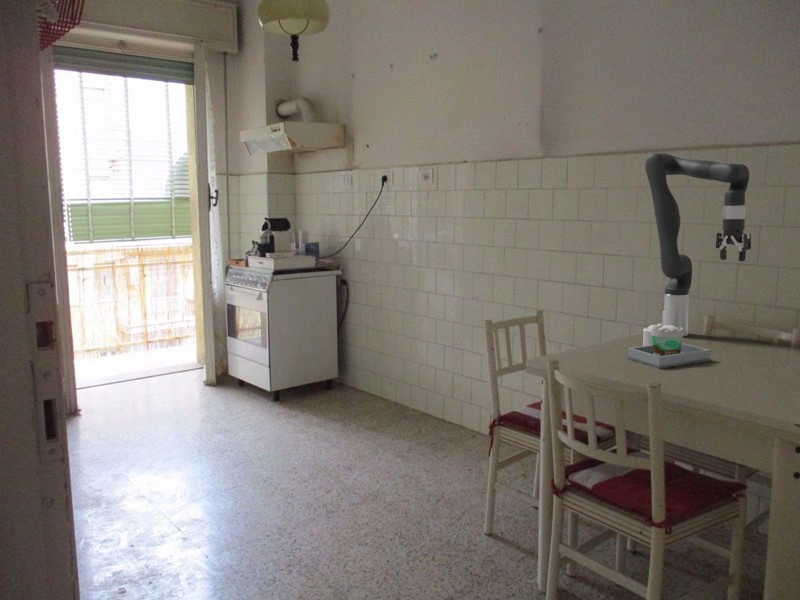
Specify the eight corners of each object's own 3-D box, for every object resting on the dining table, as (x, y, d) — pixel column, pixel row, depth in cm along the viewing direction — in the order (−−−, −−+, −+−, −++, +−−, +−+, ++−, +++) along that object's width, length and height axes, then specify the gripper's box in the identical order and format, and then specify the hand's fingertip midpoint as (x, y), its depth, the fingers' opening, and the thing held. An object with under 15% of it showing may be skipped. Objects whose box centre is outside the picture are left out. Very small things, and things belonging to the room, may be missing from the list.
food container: (660, 361, 232) (660, 332, 230) (649, 357, 238) (650, 329, 236) (691, 358, 234) (692, 330, 233) (680, 354, 240) (681, 326, 239)
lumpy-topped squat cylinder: (681, 350, 250) (682, 328, 249) (644, 350, 253) (645, 327, 252) (676, 344, 260) (676, 322, 259) (641, 344, 263) (641, 322, 262)
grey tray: (627, 359, 240) (627, 348, 240) (676, 352, 248) (676, 341, 247) (659, 368, 226) (659, 357, 225) (709, 361, 233) (710, 349, 233)
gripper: (711, 218, 258) (710, 259, 260) (741, 218, 245) (740, 262, 247) (726, 217, 260) (725, 258, 263) (757, 217, 247) (755, 261, 250)
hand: (732, 260), depth 255 cm, fingers open, 8 cm apart
